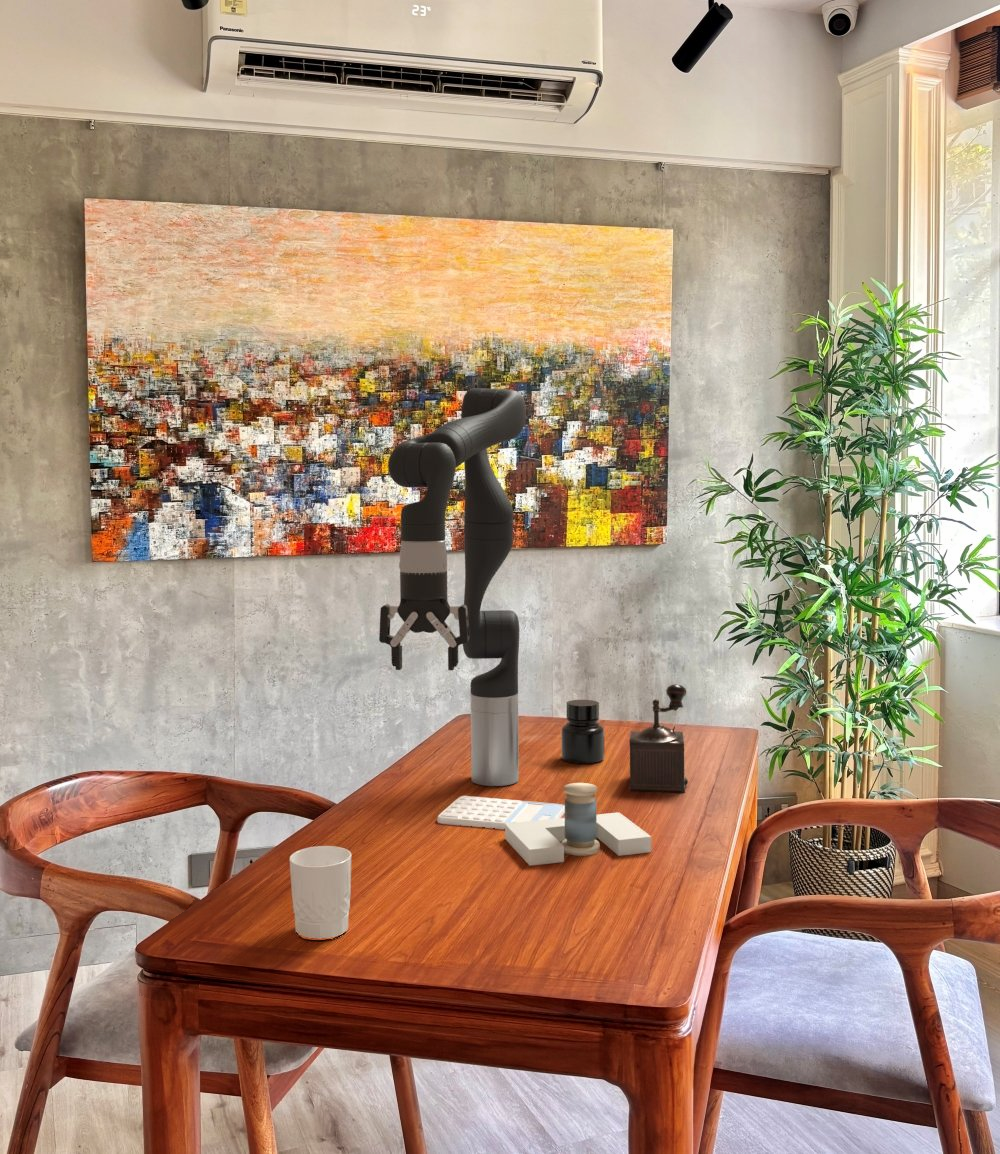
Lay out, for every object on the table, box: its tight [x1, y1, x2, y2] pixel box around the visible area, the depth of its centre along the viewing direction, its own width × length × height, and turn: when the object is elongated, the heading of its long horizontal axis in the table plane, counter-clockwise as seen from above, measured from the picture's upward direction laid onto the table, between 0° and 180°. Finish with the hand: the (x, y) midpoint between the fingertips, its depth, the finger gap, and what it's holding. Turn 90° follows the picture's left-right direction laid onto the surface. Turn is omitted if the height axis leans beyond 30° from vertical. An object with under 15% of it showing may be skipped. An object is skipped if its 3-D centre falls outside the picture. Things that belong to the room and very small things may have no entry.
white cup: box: [289, 845, 352, 939], centre depth 139 cm, size 8×8×10 cm
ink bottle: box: [560, 699, 605, 765], centre depth 225 cm, size 10×9×12 cm
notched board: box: [504, 811, 652, 867], centre depth 172 cm, size 13×20×2 cm, turn 106°
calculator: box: [436, 795, 565, 830], centre depth 187 cm, size 13×20×2 cm, turn 73°
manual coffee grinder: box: [629, 684, 689, 794], centre depth 208 cm, size 16×11×18 cm
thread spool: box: [561, 782, 601, 857], centre depth 170 cm, size 6×6×10 cm
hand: (424, 669), depth 173 cm, fingers open, 8 cm apart
